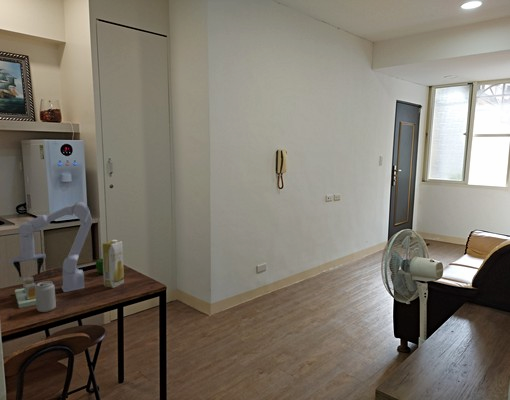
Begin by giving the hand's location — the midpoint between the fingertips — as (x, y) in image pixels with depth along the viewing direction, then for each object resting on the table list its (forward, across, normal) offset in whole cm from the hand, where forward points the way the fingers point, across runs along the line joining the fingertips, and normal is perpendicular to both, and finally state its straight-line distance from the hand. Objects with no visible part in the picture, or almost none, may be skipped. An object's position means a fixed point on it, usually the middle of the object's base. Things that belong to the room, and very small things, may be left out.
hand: (29, 275), depth 181 cm
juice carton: (+10, -36, +11) cm, 39 cm away
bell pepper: (+10, -37, -11) cm, 40 cm away
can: (+10, -3, +24) cm, 26 cm away
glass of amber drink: (+9, +1, +11) cm, 14 cm away
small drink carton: (+9, +1, 0) cm, 9 cm away
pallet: (+9, +1, +6) cm, 11 cm away
